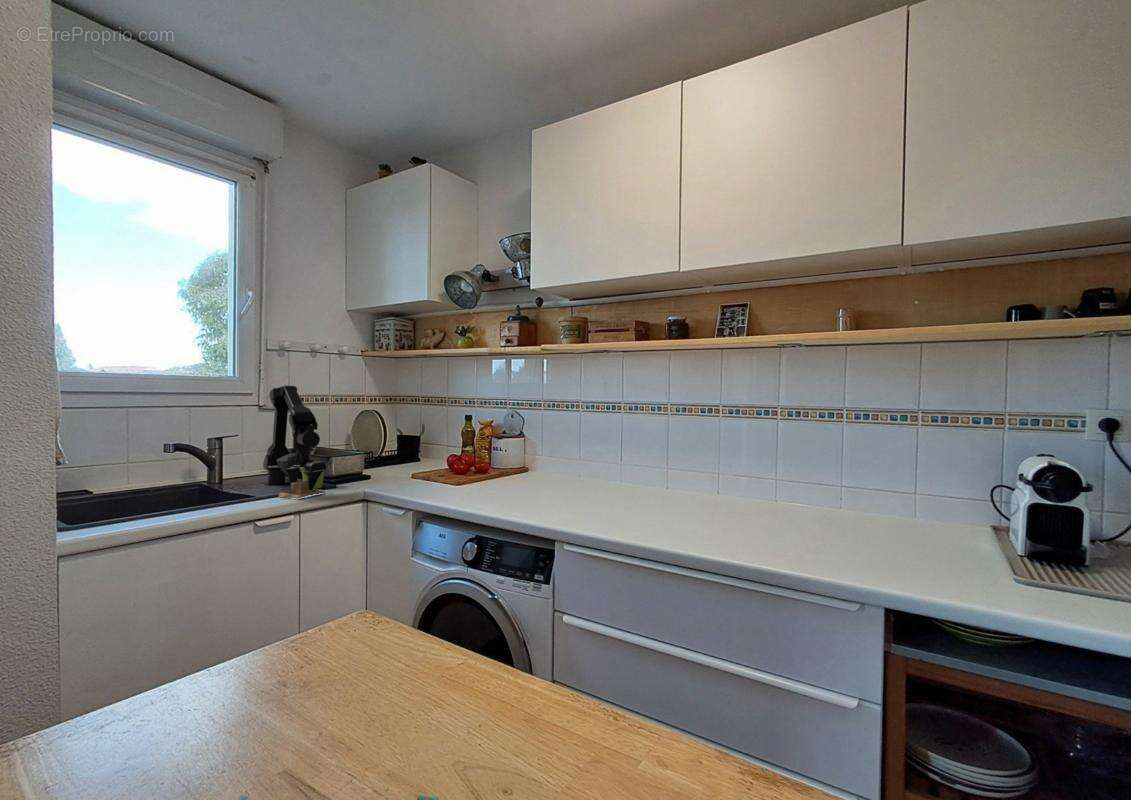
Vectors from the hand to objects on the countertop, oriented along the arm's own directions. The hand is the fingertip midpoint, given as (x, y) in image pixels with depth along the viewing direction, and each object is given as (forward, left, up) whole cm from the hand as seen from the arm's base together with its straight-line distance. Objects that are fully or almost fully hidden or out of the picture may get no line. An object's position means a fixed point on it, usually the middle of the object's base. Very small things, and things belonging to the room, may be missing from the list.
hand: (302, 488), depth 184 cm
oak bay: (0, 0, -2) cm, 2 cm away
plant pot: (-9, +11, -3) cm, 15 cm away
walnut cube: (0, 0, -3) cm, 3 cm away
